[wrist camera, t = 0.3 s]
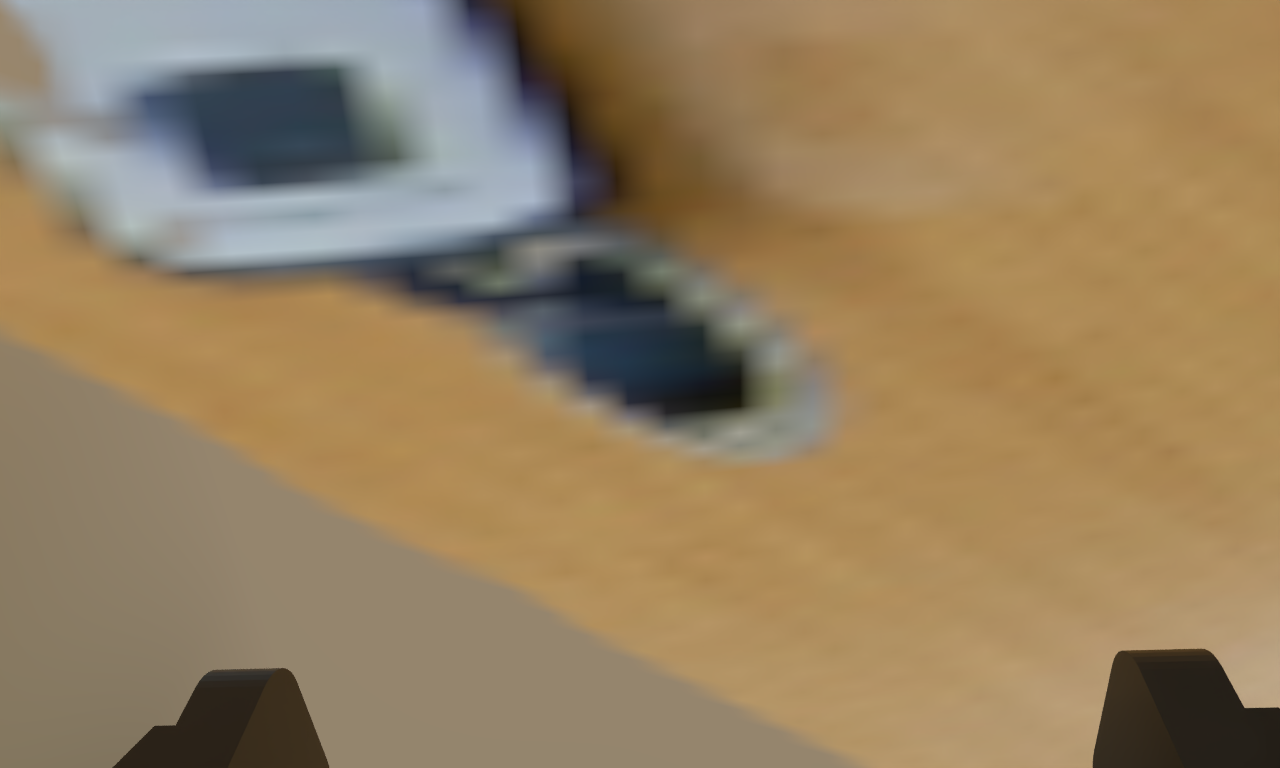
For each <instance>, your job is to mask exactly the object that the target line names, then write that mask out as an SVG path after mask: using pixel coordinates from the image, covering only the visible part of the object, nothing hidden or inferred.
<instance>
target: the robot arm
mask: <svg viewBox="0 0 1280 768" xmlns="http://www.w3.org/2000/svg"><path fill="white" fill-rule="evenodd" d="M113 768H329V765H328V762H327V759H326V756H325V753H324V751H323V748H322V746H321V743H320V741H319V738H318V735H317V733H316V730H315V728H314V725H313V722H312V720H311V717H310V715H309V712H308V710H307V707H306V704H305V702H304V699H303V697H302V694H301V691H300V689H299V686H298V683H297V681H296V679H295V677H294V675H293V674H292V673H291V672H290V671H289V670H288V669H285V668H273V669H237V670H236V669H233V670H213V671H210V672H208V673H207V674H206V675H204V676H203V678H202V679H201V680H200V681H199V683H198V685H197V686H196V688H195V690H194V691H193V693H192V696H191V697H190V699H189V701H188V703H187V705H186V707H185V709H184V710H183V712H182V714H181V716H180V718H179V720H178V722H177V724H176V726H154V727H153V728H152V729H151V730H150V731H149V732H148V733H147V734H146V735H145V736H144V737H143V738H142V739H141V740H140V741H139V742H138V743H137V744H136V745H135V746H134V747H133V748H132V749H131V750H130V751H129V752H128V753H127V754H126V755H125V756H124V757H123V758H122V759H121V760H120V761H119V762H118V763H117V764H116V765H115V766H114V767H113ZM1093 768H1280V708H1244V706H1243V705H1242V703H1241V701H1240V699H1239V697H1238V695H1237V693H1236V692H1235V690H1234V688H1233V686H1232V684H1231V682H1230V681H1229V679H1228V677H1227V675H1226V673H1225V671H1224V670H1223V668H1222V666H1221V664H1220V663H1219V661H1218V660H1217V659H1216V657H1215V656H1214V655H1213V654H1212V653H1211V652H1209V651H1208V650H1206V649H1172V650H1131V651H1120V652H1118V653H1117V655H1116V656H1115V658H1114V661H1113V664H1112V669H1111V673H1110V678H1109V683H1108V688H1107V692H1106V697H1105V702H1104V707H1103V711H1102V716H1101V721H1100V726H1099V730H1098V735H1097V740H1096V745H1095V749H1094V755H1093Z"/></svg>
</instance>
